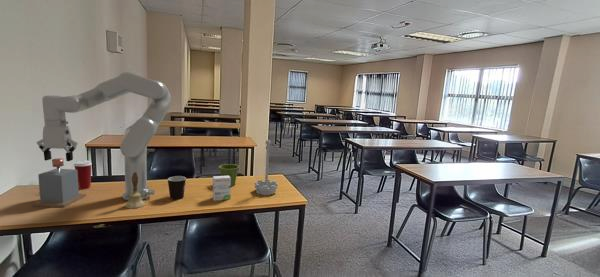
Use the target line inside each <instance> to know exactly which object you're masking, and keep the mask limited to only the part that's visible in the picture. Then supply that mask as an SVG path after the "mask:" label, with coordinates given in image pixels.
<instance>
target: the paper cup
mask: <svg viewBox="0 0 600 277" xmlns="http://www.w3.org/2000/svg"><path fill="white" fill-rule="evenodd" d="M92 164H93V163H92V161H91V160H79V161H75V162H74V164H73V166H74V170H77V172H78V190H88V189H91V185H92Z"/></svg>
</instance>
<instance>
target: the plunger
mask: <svg viewBox="0 0 600 277" xmlns="http://www.w3.org/2000/svg"><path fill="white" fill-rule="evenodd" d="M51 162H52V167H53V168H56V169H57V173H60V169H61V167H64V166H65V165H64V158H53V159H52V158H51Z"/></svg>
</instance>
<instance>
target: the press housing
mask: <svg viewBox="0 0 600 277" xmlns="http://www.w3.org/2000/svg"><path fill="white" fill-rule="evenodd" d="M37 178H38V187H39V189H38V190H39V200H37V201H34V202H32V203H31V205H32V207H47V206H49V207H50V208H51V207H52V208H66V207H67V206H70V205H72V204H74V203H76V202H78V201H79V200H82V199H83V198H86V196H87V194H86V193H80V191H79V190H80V189H78V172H77V170H75V168H74V169H72V168H71V169H70V168H60V173H57V168H53V169H51V170H47V171H44V172H41V173H38V177H37Z"/></svg>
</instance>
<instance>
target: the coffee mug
mask: <svg viewBox="0 0 600 277" xmlns="http://www.w3.org/2000/svg"><path fill="white" fill-rule="evenodd" d="M186 180H187V177H185V176H182V175H175V176H170V177H168V178H167V186H168V192H169V199H171V200H173V201H175V200H176V201H177V200H181V199H183V198H185V188H186Z"/></svg>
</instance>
